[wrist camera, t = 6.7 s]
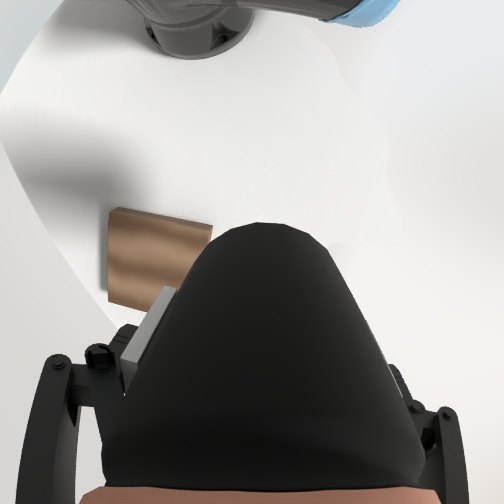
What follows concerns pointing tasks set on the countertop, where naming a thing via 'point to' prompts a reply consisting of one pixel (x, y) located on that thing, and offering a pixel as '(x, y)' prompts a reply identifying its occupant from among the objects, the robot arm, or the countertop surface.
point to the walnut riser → (150, 255)
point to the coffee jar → (263, 390)
